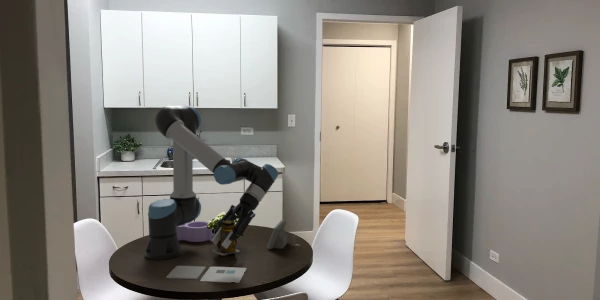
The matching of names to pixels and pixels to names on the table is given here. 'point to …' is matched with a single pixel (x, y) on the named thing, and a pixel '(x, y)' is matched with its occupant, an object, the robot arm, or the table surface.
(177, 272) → the mat
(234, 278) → the tile
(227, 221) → the condiment
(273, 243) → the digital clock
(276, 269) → the table surface
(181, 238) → the purple compartment organizer
